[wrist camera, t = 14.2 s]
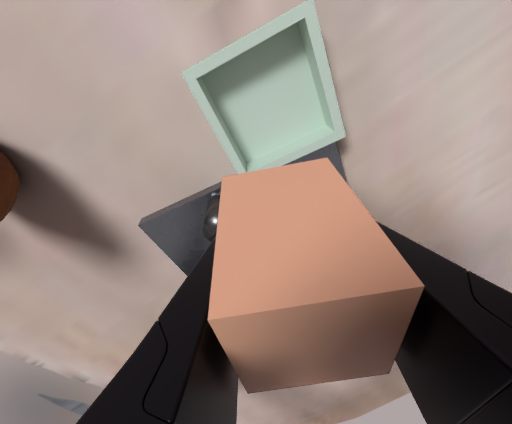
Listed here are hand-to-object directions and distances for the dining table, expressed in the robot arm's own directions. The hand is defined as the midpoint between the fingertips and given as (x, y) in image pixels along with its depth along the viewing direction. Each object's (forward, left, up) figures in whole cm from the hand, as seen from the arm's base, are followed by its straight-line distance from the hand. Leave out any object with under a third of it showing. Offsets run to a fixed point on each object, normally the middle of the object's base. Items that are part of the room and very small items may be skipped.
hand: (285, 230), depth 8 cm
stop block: (0, 0, -1) cm, 1 cm away
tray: (+2, -1, -12) cm, 12 cm away
